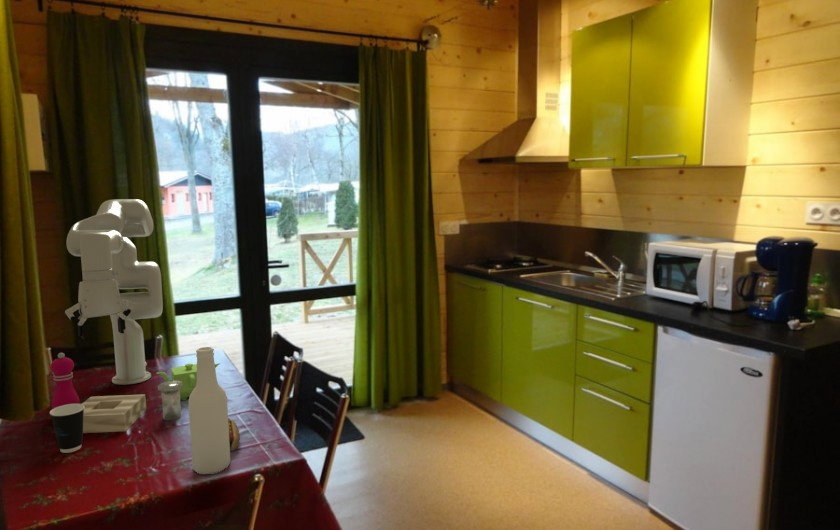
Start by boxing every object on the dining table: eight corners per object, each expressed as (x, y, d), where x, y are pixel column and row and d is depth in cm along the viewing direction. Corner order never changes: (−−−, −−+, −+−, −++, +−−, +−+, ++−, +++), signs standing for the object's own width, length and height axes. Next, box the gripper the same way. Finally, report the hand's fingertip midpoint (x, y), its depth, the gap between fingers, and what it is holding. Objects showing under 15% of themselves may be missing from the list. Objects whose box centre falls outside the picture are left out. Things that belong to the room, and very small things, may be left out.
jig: (92, 412, 178) (91, 396, 177) (146, 409, 179) (145, 394, 179) (66, 433, 162) (64, 416, 161) (125, 431, 164) (124, 414, 163)
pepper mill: (67, 422, 170) (61, 356, 167) (46, 420, 171) (40, 355, 169) (86, 413, 177) (80, 350, 174) (66, 411, 179) (60, 348, 176)
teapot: (157, 400, 187) (155, 369, 186) (182, 387, 200) (180, 357, 199) (200, 403, 184) (198, 371, 183) (222, 389, 197) (220, 359, 196)
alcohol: (225, 475, 138) (218, 353, 134) (187, 476, 137) (179, 354, 133) (234, 458, 147) (228, 343, 143) (198, 459, 146) (191, 344, 142)
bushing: (164, 413, 177) (162, 381, 175) (187, 412, 177) (185, 380, 176) (156, 422, 170) (154, 388, 168) (180, 421, 170) (178, 387, 169)
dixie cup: (50, 457, 148) (46, 416, 146) (56, 445, 155) (52, 406, 153) (86, 452, 151) (82, 411, 149) (89, 440, 158) (86, 401, 156)
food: (217, 434, 161) (216, 417, 161) (237, 431, 163) (237, 414, 163) (219, 455, 148) (218, 437, 148) (241, 452, 150) (240, 433, 150)
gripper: (127, 271, 170) (131, 328, 172) (59, 277, 159) (65, 338, 161) (135, 274, 165) (139, 332, 167) (65, 280, 153) (70, 343, 155)
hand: (102, 335), depth 164 cm, fingers open, 9 cm apart
